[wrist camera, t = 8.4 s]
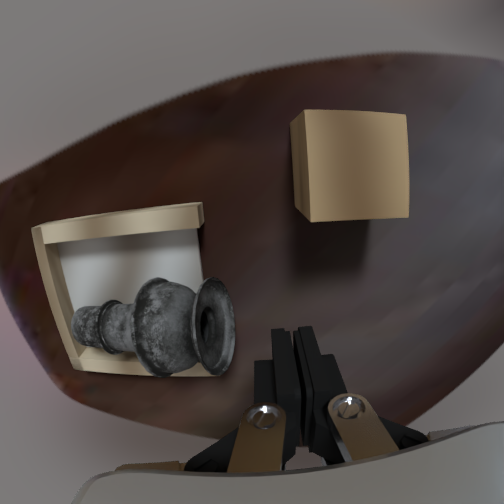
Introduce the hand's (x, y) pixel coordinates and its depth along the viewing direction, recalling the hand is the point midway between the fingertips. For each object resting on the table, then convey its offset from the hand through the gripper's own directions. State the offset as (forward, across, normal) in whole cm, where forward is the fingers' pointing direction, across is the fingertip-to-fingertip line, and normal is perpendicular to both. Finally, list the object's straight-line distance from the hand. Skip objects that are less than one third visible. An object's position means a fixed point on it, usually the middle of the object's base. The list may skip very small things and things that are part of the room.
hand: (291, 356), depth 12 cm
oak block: (+8, -4, -8) cm, 12 cm away
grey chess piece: (+4, +3, 0) cm, 5 cm away
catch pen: (+8, +10, 0) cm, 13 cm away
